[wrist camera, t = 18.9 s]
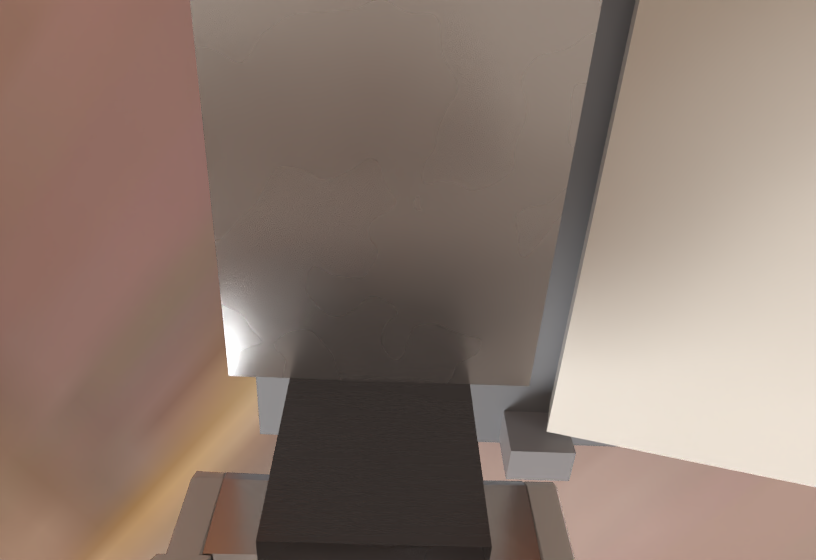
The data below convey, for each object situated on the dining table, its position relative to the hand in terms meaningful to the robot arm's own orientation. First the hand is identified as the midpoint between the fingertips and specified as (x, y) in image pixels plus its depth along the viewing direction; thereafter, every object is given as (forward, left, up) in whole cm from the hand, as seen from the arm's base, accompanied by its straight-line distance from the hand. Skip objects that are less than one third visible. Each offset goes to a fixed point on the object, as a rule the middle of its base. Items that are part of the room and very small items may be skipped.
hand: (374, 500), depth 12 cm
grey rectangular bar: (+2, 0, -2) cm, 3 cm away
